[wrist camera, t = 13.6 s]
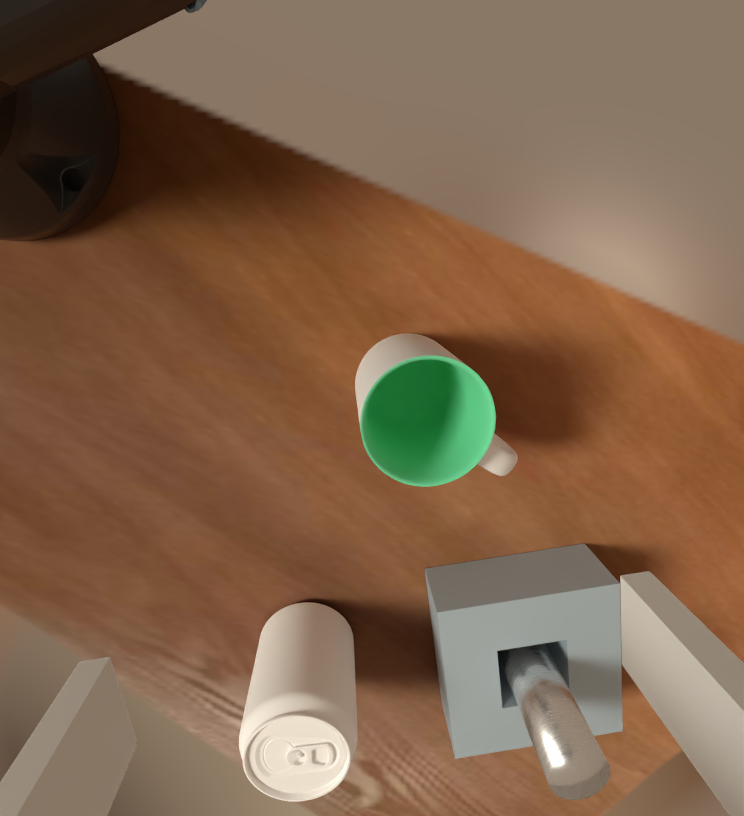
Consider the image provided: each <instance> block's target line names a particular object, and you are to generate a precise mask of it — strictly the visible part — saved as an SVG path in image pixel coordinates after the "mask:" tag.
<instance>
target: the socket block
mask: <svg viewBox="0 0 744 816" xmlns="http://www.w3.org/2000/svg"><path fill="white" fill-rule="evenodd" d="M425 576H426V583H427V591H428V599H429V607H430V615H431V623H432V630H433V638H434V646H435V654H436V662H437V670H438V677H439V685H440V693H441V701H442V705H443V709H444V714H445V718H446V722H447V726H448V731H449V735H450V739H451V743H452V747H453V752H454V756H455V759H457V758H463V757H469V756H475V755H481V754H487V753H493V752H499V751H505V750H511V749H517V748H523V747H529V746H533V743H532V741H531V738H530V736H529V733H528V731H527V728H526V726H525V723H524V720H523V718H522V715H521V713H520V710H519V708H518V705H517V703H516V700H515V698H514V695H513V693H512V690H511V687H510V685H509V682H508V680H507V677H506V675H505V672H504V670H503V667H502V665H501V662H500V660H499V657H498V654H497V651H500V650H506V649H512V648H519V647H525V646H531V645H537V644H543V643H545V644H546V646H547V648H548V650H549V652H550V654H551V656H552V658H553V660H554V661H555V663H556V665H557V667H558V669H559V671H560V673H561V675H562V677H563V678H564V680H565V682H566V684H567V686H568V688H569V690H570V692H571V694H572V695H573V697H574V699H575V701H576V703H577V705H578V707H579V709H580V711H581V712H582V714H583V716H584V718H585V720H586V722H587V724H588V726H589V728H590V729H591V731H592V733H593V735H594V736H596V735H602V734H608V733H614V732H620V731H623V726H622V670H621V614H620V583H619V582H618V581H617V580H616V578H615V577H614V576H613V575H612V574H611V573H610V572H609V571H608V569H607V568H606V567H605V566H604V565H603V564H602V563H601V562H600V560H599V559H598V558H597V557H596V556H595V555H594V554H593V553H592V551H591V550H590V549H589V548H588V547H587V546H586V545H585V544H578V545H572V546H566V547H559V548H553V549H547V550H540V551H534V552H528V553H521V554H515V555H508V556H502V557H496V558H489V559H483V560H477V561H470V562H464V563H458V564H451V565H445V566H439V567H432V568H426V569H425Z"/></svg>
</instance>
